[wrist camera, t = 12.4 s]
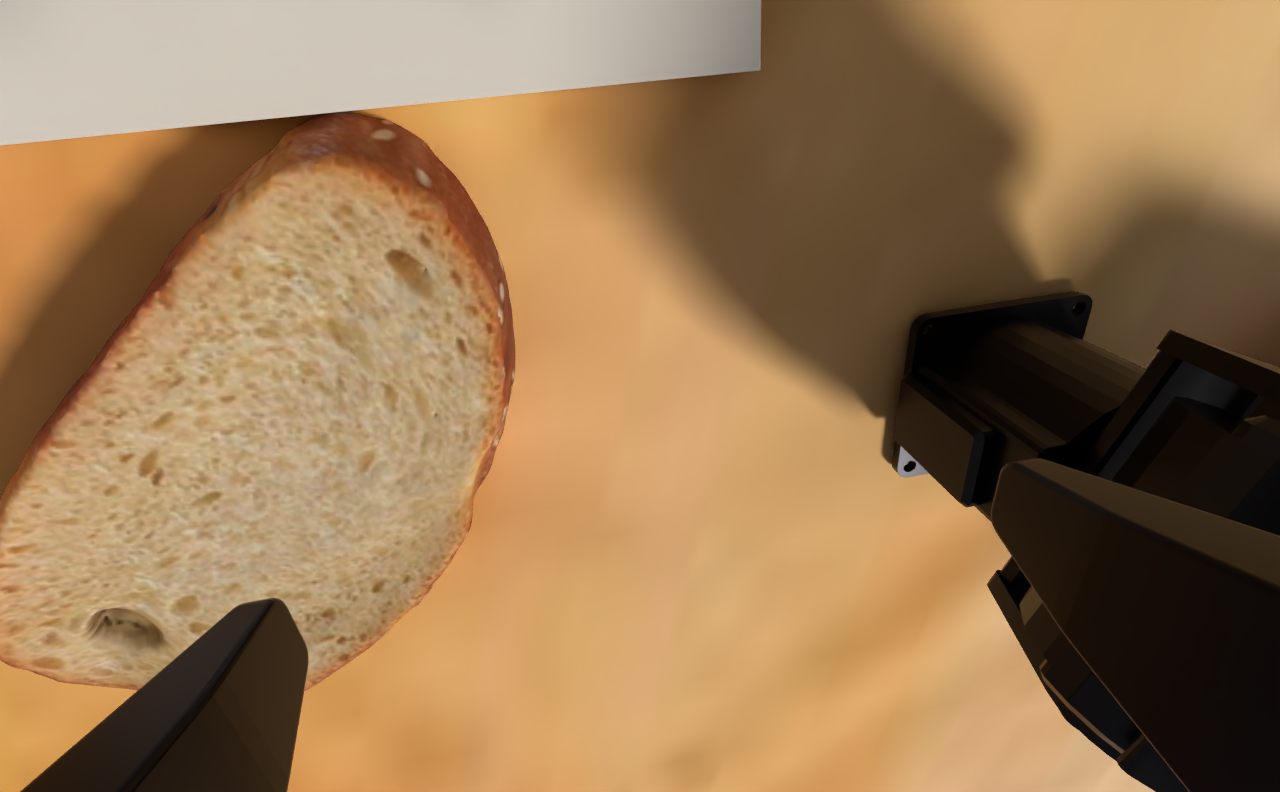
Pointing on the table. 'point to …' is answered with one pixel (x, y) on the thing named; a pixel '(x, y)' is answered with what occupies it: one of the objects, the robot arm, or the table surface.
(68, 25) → the light grey flat slab
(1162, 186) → the table surface
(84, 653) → the bread slice
